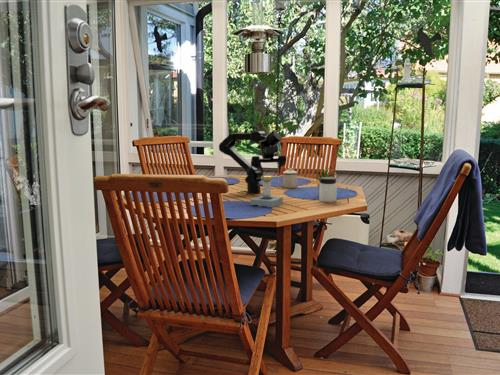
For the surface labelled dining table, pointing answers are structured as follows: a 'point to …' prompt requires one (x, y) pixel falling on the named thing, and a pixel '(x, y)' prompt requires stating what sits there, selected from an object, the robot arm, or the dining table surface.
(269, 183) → the pin
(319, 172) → the house plant
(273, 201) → the socket block
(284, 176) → the teacup with lid
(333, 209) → the dining table surface
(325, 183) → the jar
